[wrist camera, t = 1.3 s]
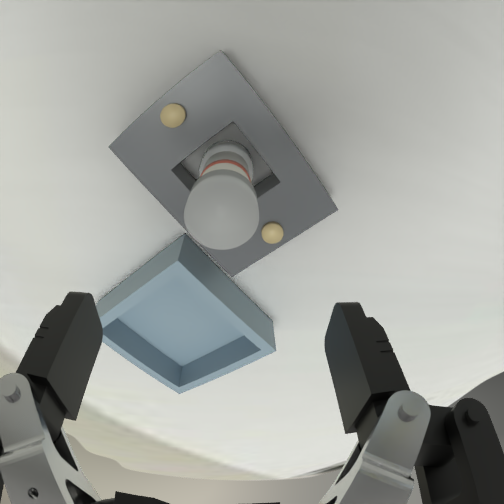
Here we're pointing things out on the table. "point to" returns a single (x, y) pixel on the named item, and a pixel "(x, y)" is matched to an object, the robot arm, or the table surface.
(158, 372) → the parts tray
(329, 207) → the fuse block
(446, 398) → the table surface
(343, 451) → the table surface
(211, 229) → the cylinder
